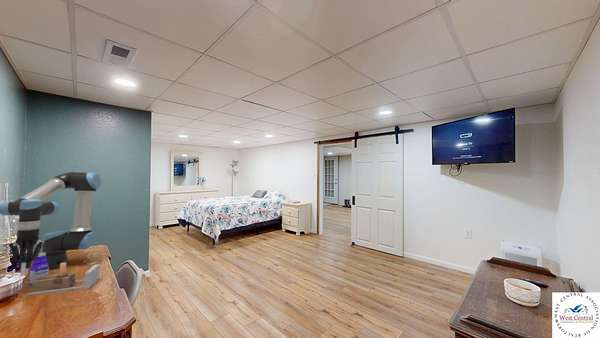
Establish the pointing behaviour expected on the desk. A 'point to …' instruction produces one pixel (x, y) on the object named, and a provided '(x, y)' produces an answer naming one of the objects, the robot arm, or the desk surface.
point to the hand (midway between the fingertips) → (24, 274)
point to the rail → (90, 279)
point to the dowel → (62, 270)
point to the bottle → (38, 268)
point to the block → (53, 282)
